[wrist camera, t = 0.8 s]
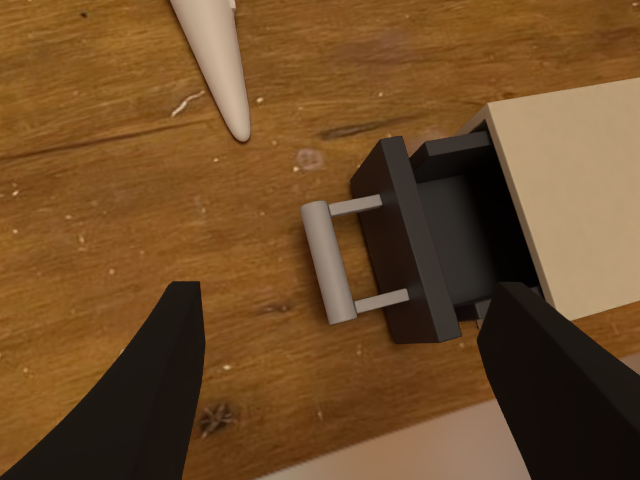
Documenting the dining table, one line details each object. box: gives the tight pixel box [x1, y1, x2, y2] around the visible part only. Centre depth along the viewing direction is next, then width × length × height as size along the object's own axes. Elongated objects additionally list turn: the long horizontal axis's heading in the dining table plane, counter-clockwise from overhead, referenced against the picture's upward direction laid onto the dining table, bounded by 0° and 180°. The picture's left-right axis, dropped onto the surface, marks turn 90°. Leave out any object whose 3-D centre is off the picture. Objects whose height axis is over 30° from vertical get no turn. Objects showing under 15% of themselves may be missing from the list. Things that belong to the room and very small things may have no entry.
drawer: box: [300, 130, 546, 344], centre depth 27 cm, size 18×10×6 cm, turn 105°
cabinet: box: [452, 78, 640, 329], centre depth 29 cm, size 14×11×8 cm
